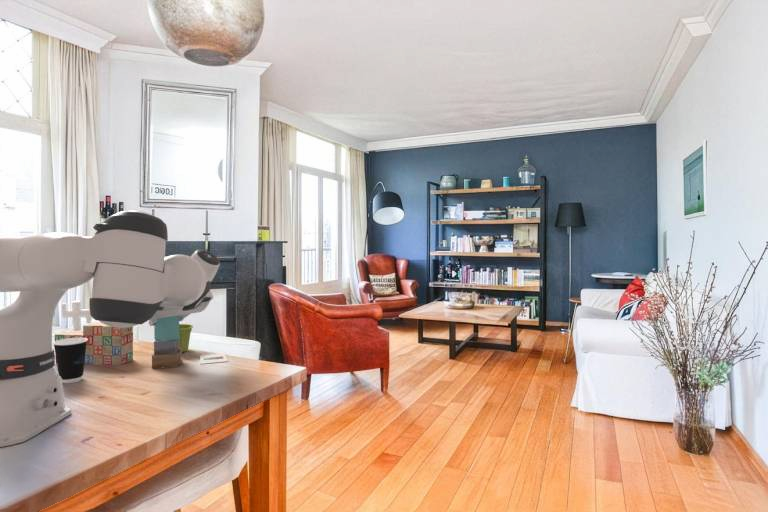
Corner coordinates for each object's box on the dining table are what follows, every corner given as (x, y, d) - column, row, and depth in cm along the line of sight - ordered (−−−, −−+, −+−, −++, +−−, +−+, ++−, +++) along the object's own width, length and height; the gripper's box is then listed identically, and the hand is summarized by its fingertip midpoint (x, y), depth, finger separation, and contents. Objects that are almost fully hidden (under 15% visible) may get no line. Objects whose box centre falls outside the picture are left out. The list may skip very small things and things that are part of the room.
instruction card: (227, 361, 144) (227, 360, 144) (200, 364, 140) (200, 363, 140) (225, 354, 153) (225, 353, 153) (199, 356, 150) (199, 355, 150)
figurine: (89, 341, 170) (88, 301, 169) (59, 342, 167) (58, 302, 166) (93, 337, 177) (93, 299, 176) (65, 338, 174) (64, 300, 173)
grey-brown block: (177, 367, 137) (176, 341, 137) (151, 368, 135) (151, 342, 135) (181, 361, 144) (181, 336, 144) (157, 362, 142) (157, 337, 142)
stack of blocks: (54, 364, 140) (53, 324, 139) (69, 358, 146) (68, 321, 146) (121, 365, 139) (121, 325, 138) (133, 360, 145) (133, 322, 145)
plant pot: (193, 347, 162) (193, 323, 162) (192, 353, 153) (192, 328, 153) (165, 349, 159) (164, 324, 159) (162, 355, 150) (161, 330, 150)
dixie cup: (86, 382, 122) (86, 342, 122) (50, 386, 118) (50, 345, 118) (90, 374, 129) (89, 336, 129) (56, 378, 125) (55, 339, 125)
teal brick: (179, 338, 140) (179, 313, 140) (164, 341, 136) (164, 315, 136) (169, 336, 143) (169, 311, 142) (154, 339, 138) (154, 313, 138)
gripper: (156, 304, 124) (136, 335, 129) (218, 297, 141) (198, 324, 147) (146, 287, 126) (127, 318, 132) (208, 282, 144) (189, 309, 149)
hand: (165, 321), depth 139 cm, fingers open, 8 cm apart
